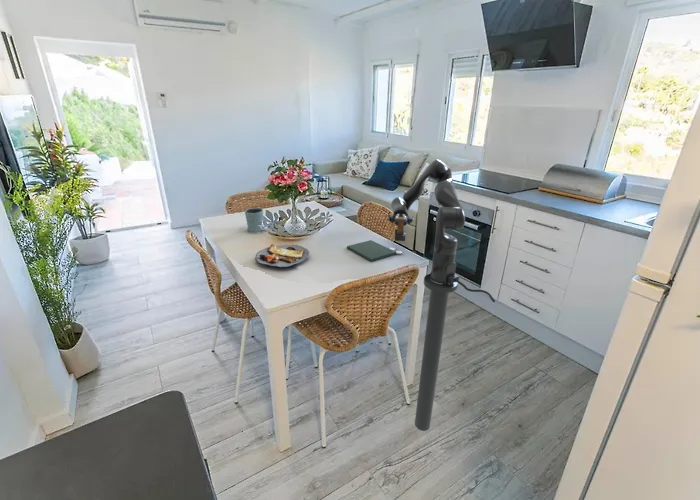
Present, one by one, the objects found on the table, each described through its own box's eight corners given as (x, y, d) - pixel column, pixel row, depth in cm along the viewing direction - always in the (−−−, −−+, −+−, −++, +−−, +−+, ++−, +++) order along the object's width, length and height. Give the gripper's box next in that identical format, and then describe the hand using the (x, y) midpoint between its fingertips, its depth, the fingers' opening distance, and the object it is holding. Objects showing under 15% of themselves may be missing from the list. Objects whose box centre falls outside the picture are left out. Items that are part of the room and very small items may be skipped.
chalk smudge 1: (401, 251, 176) (401, 250, 175) (401, 254, 173) (402, 253, 173) (395, 251, 176) (395, 250, 176) (395, 253, 173) (395, 252, 173)
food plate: (245, 263, 160) (245, 256, 158) (273, 245, 179) (273, 239, 178) (293, 273, 151) (293, 266, 150) (317, 253, 171) (317, 246, 170)
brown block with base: (404, 234, 177) (406, 215, 173) (404, 241, 168) (406, 221, 164) (394, 233, 178) (395, 214, 174) (394, 240, 169) (395, 220, 165)
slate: (396, 254, 173) (396, 251, 172) (371, 261, 164) (371, 259, 164) (370, 242, 188) (371, 240, 187) (346, 248, 179) (346, 246, 179)
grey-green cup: (256, 234, 196) (254, 214, 191) (242, 231, 201) (240, 211, 196) (268, 229, 204) (266, 209, 199) (255, 226, 209) (253, 206, 204)
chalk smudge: (395, 248, 180) (395, 247, 179) (395, 251, 177) (395, 250, 177) (389, 248, 180) (389, 247, 180) (389, 250, 177) (389, 249, 177)
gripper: (387, 206, 182) (386, 215, 166) (414, 207, 181) (416, 216, 165) (386, 220, 185) (385, 230, 169) (413, 221, 184) (415, 231, 168)
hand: (400, 223), depth 167 cm, fingers closed on brown block with base, 3 cm apart
